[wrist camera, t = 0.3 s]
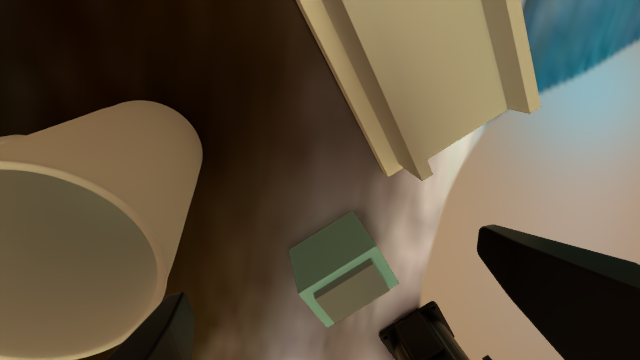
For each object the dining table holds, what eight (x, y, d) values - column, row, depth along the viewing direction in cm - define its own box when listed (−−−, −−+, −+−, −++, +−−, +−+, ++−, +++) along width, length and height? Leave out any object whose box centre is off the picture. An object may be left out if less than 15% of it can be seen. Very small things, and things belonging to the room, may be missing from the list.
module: (352, 209, 24) (380, 251, 19) (372, 243, 26) (403, 289, 21) (288, 249, 24) (299, 300, 19) (312, 280, 26) (329, 334, 21)
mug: (216, 112, 19) (182, 191, 9) (198, 206, 21) (152, 365, 11) (18, 61, 16) (-435, 84, 5) (19, 177, 18) (-306, 362, 7)
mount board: (505, 95, 23) (556, 104, 20) (382, 172, 24) (410, 196, 20) (451, -123, 17) (511, -173, 13) (286, -18, 17) (298, -37, 14)
